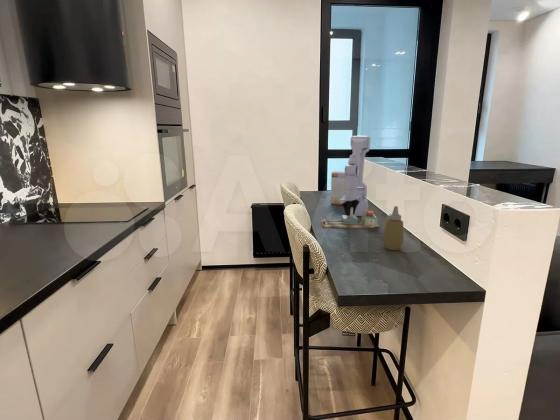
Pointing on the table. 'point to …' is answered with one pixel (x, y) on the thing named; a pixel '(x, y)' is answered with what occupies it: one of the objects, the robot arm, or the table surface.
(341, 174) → the cracker box
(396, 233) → the squeeze bottle
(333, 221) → the rail track
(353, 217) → the carriage
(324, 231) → the table surface
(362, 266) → the table surface
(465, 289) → the table surface
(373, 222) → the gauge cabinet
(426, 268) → the table surface
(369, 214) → the button
